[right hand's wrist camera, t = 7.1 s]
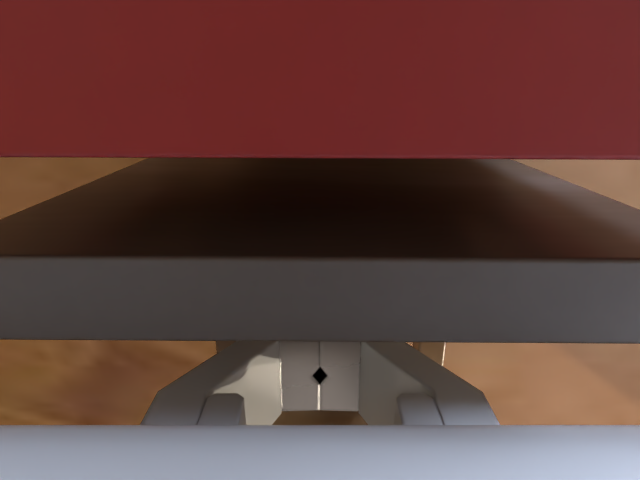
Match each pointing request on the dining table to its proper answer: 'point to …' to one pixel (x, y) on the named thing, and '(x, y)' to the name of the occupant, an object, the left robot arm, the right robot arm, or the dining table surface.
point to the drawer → (324, 257)
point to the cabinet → (320, 79)
